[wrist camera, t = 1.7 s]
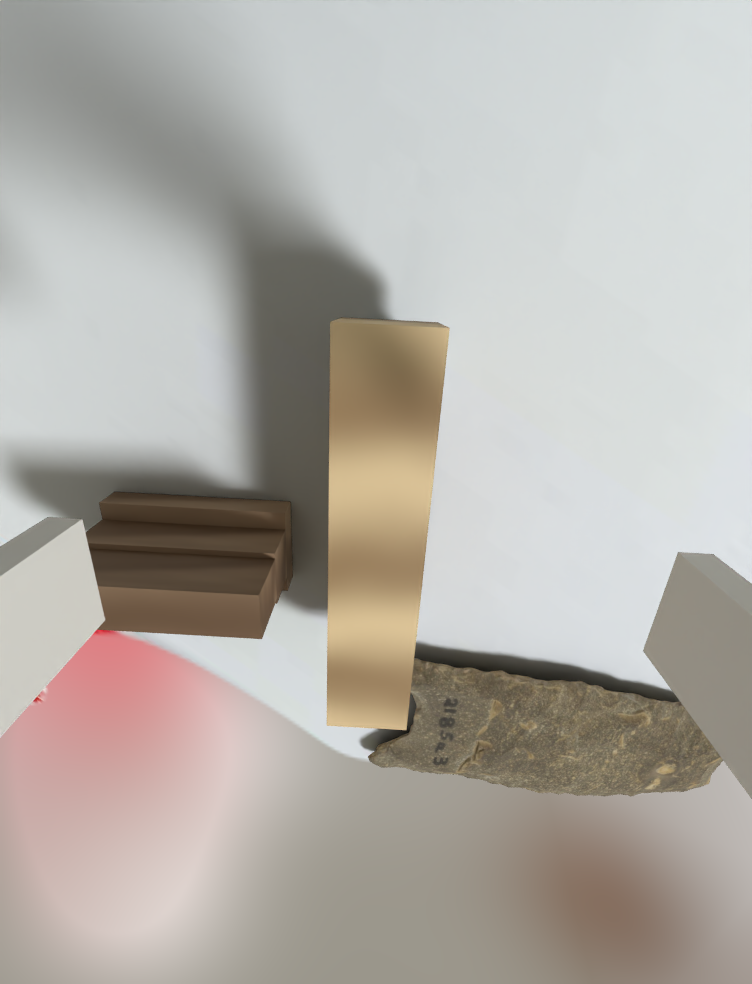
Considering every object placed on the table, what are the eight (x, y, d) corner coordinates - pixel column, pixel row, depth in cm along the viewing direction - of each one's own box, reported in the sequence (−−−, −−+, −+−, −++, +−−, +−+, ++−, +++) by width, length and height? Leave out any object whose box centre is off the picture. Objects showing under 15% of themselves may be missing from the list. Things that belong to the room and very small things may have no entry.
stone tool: (366, 751, 34) (683, 792, 35) (364, 789, 31) (708, 832, 32) (390, 637, 30) (751, 688, 31) (391, 670, 27) (785, 724, 28)
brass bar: (341, 317, 19) (330, 321, 15) (437, 322, 19) (449, 328, 15) (335, 665, 26) (326, 725, 23) (403, 669, 26) (406, 730, 23)
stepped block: (114, 491, 25) (22, 556, 19) (290, 501, 25) (257, 569, 19) (129, 566, 27) (50, 648, 21) (292, 576, 27) (263, 660, 21)
